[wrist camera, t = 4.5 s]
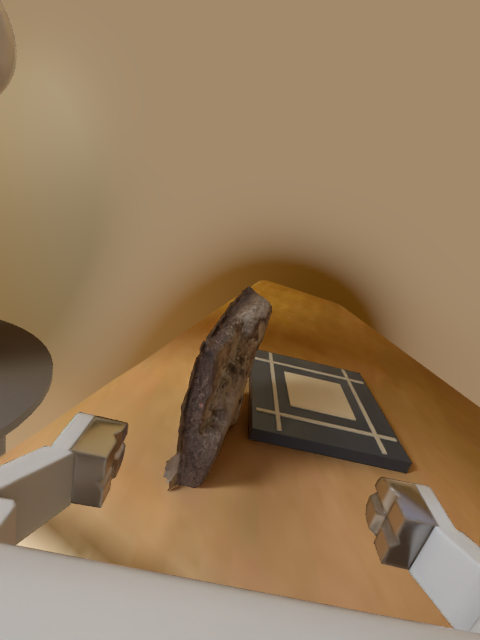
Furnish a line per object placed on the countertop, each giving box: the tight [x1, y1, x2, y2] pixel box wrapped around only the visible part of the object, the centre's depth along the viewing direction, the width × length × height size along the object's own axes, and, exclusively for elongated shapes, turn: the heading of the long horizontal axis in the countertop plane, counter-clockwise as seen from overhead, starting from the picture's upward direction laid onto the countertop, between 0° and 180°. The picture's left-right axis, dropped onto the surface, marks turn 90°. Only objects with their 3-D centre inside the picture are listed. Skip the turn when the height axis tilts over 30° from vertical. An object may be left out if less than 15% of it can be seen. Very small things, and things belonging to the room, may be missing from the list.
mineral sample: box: [164, 287, 272, 490], centre depth 33 cm, size 17×4×15 cm, turn 166°
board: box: [249, 349, 412, 473], centre depth 47 cm, size 18×20×2 cm
